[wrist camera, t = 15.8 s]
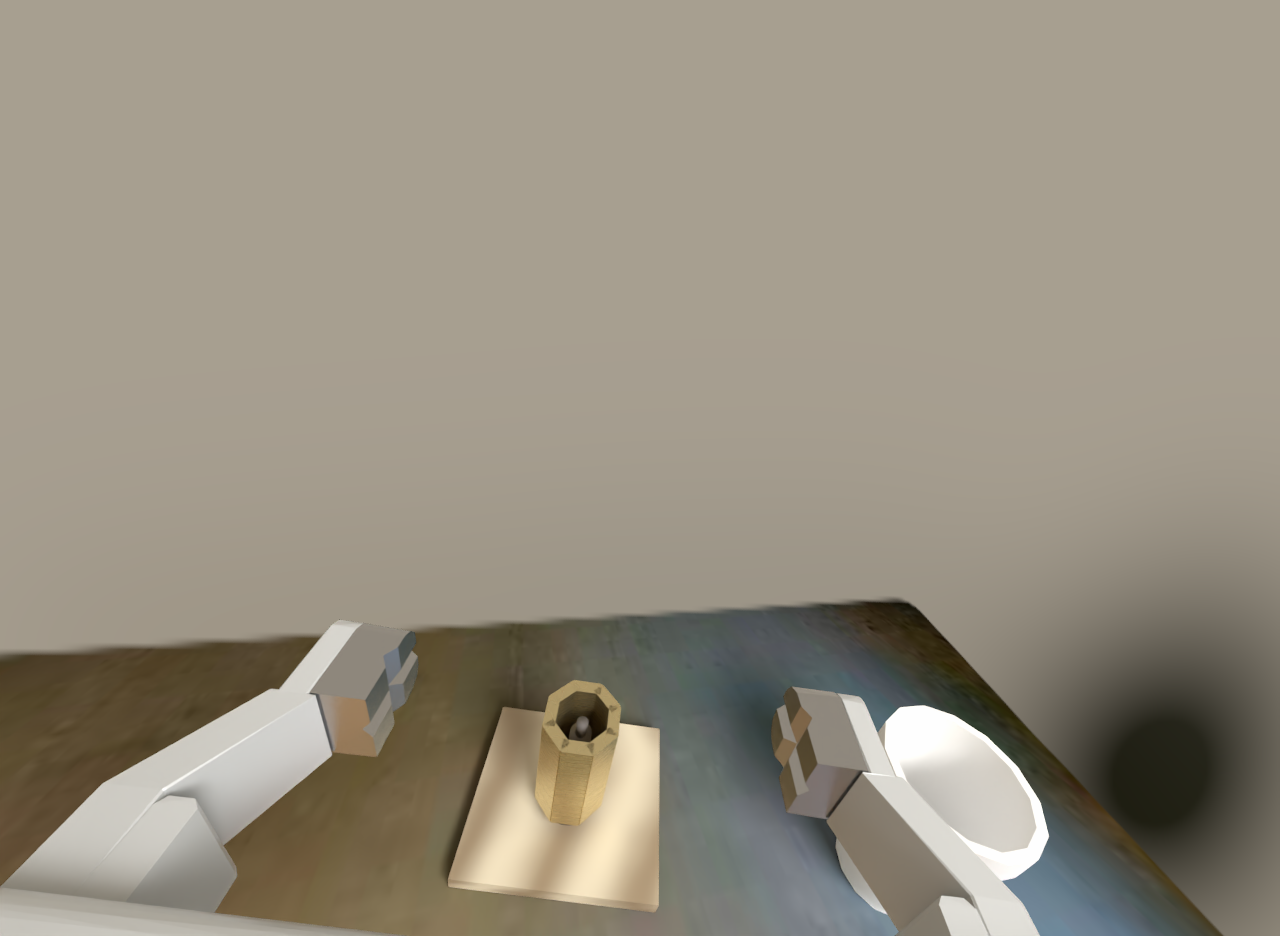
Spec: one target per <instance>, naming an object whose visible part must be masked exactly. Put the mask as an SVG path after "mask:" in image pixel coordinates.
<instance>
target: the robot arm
mask: <svg viewBox="0 0 1280 936" xmlns="http://www.w3.org/2000/svg"><path fill="white" fill-rule="evenodd" d="M415 644H416V638H415V632H412V631H406V630H400V629H395V628H389V627H383V626H377V625H371V624H366V623H360V622H353V621H347V620H340V619H339V620H338V621H337V622H335V623H334V624H332V625H331V626H330V627H329V628H328V629H327V631H326V632H325V633H324V634H323V635H322V637H321V638H320V639H319V640H318V642H317V643H316V644H315V645H314V647H313V648H312V649H311V650H310V651H309V653H308V654H307V655H306V656H305V658H304V659H303V660H302V661H301V663H300V664H299V665H298V666H297V667H296V669H295V670H294V671H293V672H292V674H291V675H290V676H289V677H288V678H287V680H286V681H285V682H284V683H283V685H282V686H281V687H280V688H279V689H269V690H267V691H266V692H264V693H262V694H260V695H258V696H257V697H255V698H253V699H251V700H250V701H248V702H246V703H244V704H243V705H241V706H239V707H237V708H235V709H234V710H232V711H230V712H228V713H227V714H225V715H223V716H221V717H219V718H218V719H216V720H214V721H212V722H211V723H209V724H207V725H205V726H204V727H202V728H200V729H198V730H196V731H195V732H193V733H191V734H189V735H188V736H186V737H184V738H182V739H180V740H179V741H177V742H175V743H173V744H172V745H170V746H168V747H166V748H164V749H163V750H161V751H159V752H157V753H156V754H154V755H152V756H150V757H149V758H147V759H145V760H143V761H141V762H140V763H138V764H136V765H134V766H133V767H131V768H129V769H127V770H125V771H124V772H122V773H120V774H118V775H117V776H115V777H113V778H111V779H109V780H108V781H106V782H104V783H103V784H102V785H101V786H100V787H99V788H98V789H97V790H96V791H95V792H94V793H93V794H92V795H91V796H90V797H89V798H88V799H87V800H86V801H85V802H84V803H83V804H82V805H81V806H80V807H79V808H78V809H77V810H76V811H75V812H74V813H73V814H72V815H71V816H70V817H69V818H68V819H67V820H66V821H65V822H64V823H63V824H62V825H61V826H60V827H59V828H58V829H57V830H56V831H55V832H54V833H53V834H52V835H51V836H50V837H49V838H48V839H47V840H46V841H45V842H44V843H43V844H42V845H41V846H40V847H39V848H38V849H37V850H36V851H35V852H34V853H33V854H32V855H31V856H30V857H29V858H28V859H27V860H26V861H25V862H24V863H23V864H22V865H21V866H20V867H19V868H18V869H17V870H16V871H15V872H14V873H13V874H12V875H11V876H10V877H9V878H8V879H7V881H6V882H5V883H4V884H3V885H2V886H1V887H0V936H405V935H396V934H388V933H379V932H371V931H363V930H354V929H346V928H337V927H329V926H321V925H312V924H304V923H295V922H287V921H279V920H270V919H262V918H253V917H245V916H237V915H228V914H220V913H215V911H216V909H217V908H218V906H219V905H220V903H221V901H222V900H223V898H224V897H225V895H226V893H227V892H228V890H229V889H230V887H231V885H232V884H233V882H234V881H235V879H236V878H237V869H236V865H235V864H234V862H233V860H232V859H231V857H230V855H229V854H228V852H227V850H226V849H225V847H224V844H226V843H227V842H228V841H229V840H230V839H232V838H233V837H234V836H235V835H237V834H238V833H239V832H240V831H241V830H243V829H244V828H245V827H246V826H247V825H249V824H250V823H251V822H252V821H253V820H255V819H256V818H257V817H258V816H259V815H261V814H262V813H263V812H264V811H266V810H267V809H268V808H269V807H270V806H272V805H273V804H274V803H275V802H276V801H278V800H279V799H280V798H281V797H282V796H284V795H285V794H286V793H287V792H288V791H290V790H291V789H292V788H293V787H294V786H296V785H297V784H298V783H299V782H301V781H302V780H303V779H304V778H305V777H307V776H308V775H309V774H310V773H311V772H313V771H314V770H315V769H316V768H317V767H319V766H320V765H321V764H322V763H323V762H325V761H326V760H327V759H328V758H329V757H331V756H332V752H334V753H344V754H353V755H363V756H372V757H377V756H378V754H379V752H380V750H381V748H382V746H383V744H384V743H385V741H386V739H387V737H388V735H389V733H390V731H391V729H392V728H393V726H394V717H393V711H395V710H396V709H398V708H399V707H401V706H402V705H403V704H405V703H406V701H407V699H408V697H409V695H410V693H411V691H412V689H413V686H414V683H415V680H416V677H417V671H418V657H417V656H416V655H415V653H414V652H413V651H412V649H413V647H414V646H415ZM783 697H784V701H785V705H784V706H782V707H780V708H778V709H777V710H776V712H775V715H774V717H773V720H772V728H771V737H772V746H773V751H774V755H775V757H776V758H777V759H778V760H779V762H780V763H781V764H782V766H783V767H784V768H783V770H782V772H781V774H780V776H779V780H780V785H781V789H782V794H783V799H784V803H785V808H786V812H787V813H792V814H798V815H804V816H810V817H816V818H822V819H828V820H827V821H826V822H827V824H828V825H829V827H830V828H831V830H832V831H833V833H834V834H835V836H836V837H837V839H838V840H839V842H840V843H841V845H842V846H843V848H844V849H845V851H846V852H847V854H848V855H849V857H850V858H851V860H852V861H853V863H854V864H855V866H856V867H857V869H858V870H859V872H860V873H861V875H862V876H863V878H864V880H865V881H866V883H867V884H868V886H869V887H870V889H871V890H872V892H873V893H874V895H875V896H876V898H877V899H878V901H879V902H880V904H881V905H882V907H883V908H884V910H885V911H886V913H887V914H888V916H889V917H890V919H891V920H892V922H893V923H894V925H895V926H896V928H897V929H898V931H899V932H898V933H897V934H896V935H895V936H1040V935H1039V933H1038V931H1037V929H1036V928H1035V926H1034V924H1033V922H1032V920H1031V918H1030V916H1029V914H1028V912H1027V910H1026V908H1025V907H1024V905H1023V903H1022V902H1021V901H1020V900H1019V899H1018V898H1017V897H1016V896H1015V895H1014V894H1013V893H1012V892H1011V891H1010V890H1009V889H1008V888H1007V887H1006V885H1005V884H1004V883H1003V882H1002V881H1001V880H1000V879H999V878H998V877H997V876H996V875H995V874H994V873H993V872H992V871H991V870H990V869H989V868H988V867H987V866H986V864H985V863H984V862H983V861H982V860H981V859H980V858H979V857H978V856H977V855H976V854H975V853H974V852H973V851H972V850H971V849H970V848H969V847H968V846H967V845H966V843H965V842H964V841H963V840H962V839H961V838H960V837H959V836H958V835H957V834H956V833H955V832H954V831H953V830H952V829H951V828H950V827H949V826H948V825H947V824H946V822H945V821H944V820H943V819H942V818H941V817H940V816H939V815H938V814H937V813H936V812H935V811H934V810H933V809H932V808H931V807H930V806H929V805H928V804H927V803H926V801H925V800H924V799H923V798H922V797H921V796H920V795H919V794H918V793H917V792H916V791H915V790H914V789H913V788H912V787H911V786H910V785H909V784H908V783H907V782H906V780H905V779H904V778H902V777H897V776H895V774H894V771H893V769H892V766H891V764H890V762H889V759H888V757H887V755H886V752H885V750H884V748H883V745H882V743H881V741H880V738H879V736H878V734H877V731H876V729H875V726H874V724H873V722H872V719H871V717H870V715H869V712H868V710H867V708H866V705H865V703H864V701H863V700H862V699H861V698H860V697H858V696H853V695H845V694H838V693H834V692H828V691H821V690H813V689H805V688H798V687H790V688H789V689H787V691H786V692H785V694H784V696H783Z"/></svg>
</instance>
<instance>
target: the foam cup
mask: <svg viewBox="0 0 1280 936" xmlns="http://www.w3.org/2000/svg"><path fill="white" fill-rule="evenodd" d="M877 734H878V736H879V738H880V741H881V743H882V745H883V748H884V750H885V752H886V755H887V757H888V759H889V762H890V764H891V766H892V769H893V771H894V774H895V776H897V777H902V778H904V779H905V780H906V782H907V783H908V784H909V785H910V786H911V787H912V788H913V789H914V790H915V791H916V792H917V793H918V794H919V795H920V796H921V797H922V798H923V799H924V800H925V801H926V803H927V804H928V805H929V806H930V807H931V808H932V809H933V810H934V811H935V812H936V813H937V814H938V815H939V816H940V817H941V818H942V819H943V820H944V821H945V822H946V824H947V825H948V826H949V827H950V828H951V829H952V830H953V831H954V832H955V833H956V834H957V835H958V836H959V837H960V838H961V839H962V840H963V841H964V842H965V843H966V845H967V846H968V847H969V848H970V849H971V850H972V851H973V852H974V853H975V854H976V855H977V856H978V857H979V858H980V859H981V860H982V861H983V862H984V863H985V864H986V866H987V867H988V868H989V869H990V870H991V871H992V872H993V873H994V874H995V875H996V876H997V877H998V878H999V879H1000V880H1001V881H1002V880H1007V879H1012V878H1016V877H1017V876H1018V875H1020V874H1021V873H1022V872H1024V871H1025V870H1026V869H1028V868H1029V867H1030V866H1031V865H1033V864H1034V863H1035V862H1037V861H1038V860H1039V858H1040V856H1041V853H1042V851H1043V849H1044V846H1045V844H1046V842H1047V840H1048V837H1049V835H1048V831H1047V827H1046V823H1045V819H1044V815H1043V811H1042V807H1041V803H1040V801H1039V799H1038V798H1037V796H1036V795H1035V793H1034V792H1033V790H1032V789H1031V787H1030V785H1029V784H1028V782H1027V781H1026V779H1025V778H1024V776H1023V775H1022V773H1021V771H1020V770H1019V768H1018V767H1017V766H1016V765H1015V764H1014V763H1013V762H1012V761H1011V760H1010V759H1009V758H1008V757H1007V756H1006V755H1005V754H1004V753H1003V752H1002V751H1001V750H1000V749H999V748H998V747H997V746H996V745H995V744H994V743H993V742H992V741H991V740H990V739H989V738H988V737H987V736H985V735H984V734H982V733H981V732H979V731H977V730H976V729H974V728H973V727H971V726H970V725H968V724H967V723H965V722H964V721H962V720H960V719H959V718H957V717H956V716H954V715H951V714H948V713H945V712H942V711H939V710H936V709H933V708H930V707H927V706H924V705H923V706H911V707H900V708H899V709H898V710H897V711H896V712H895V713H894V714H893V715H892V716H891V717H890V718H889V719H888V720H887V721H886V722H885V724H884V725H883V726H882V728H881V729H880V731H879V732H878V733H877ZM836 851H837V854H838V858H839V862H840V865H841V869H842V871H843V872H844V874H845V876H846V877H847V879H848V881H849V882H850V884H851V885H852V887H853V889H854V890H855V892H856V893H857V894H858V895H859V896H860V897H862V898H863V899H864V900H865V901H866V902H867V903H868V904H869V905H870V906H871V907H872V908H874V909H875V910H877V911H880V912H882V913H885V914H887V913H886V911H885V910H884V908H883V907H882V905H881V904H880V902H879V901H878V899H877V898H876V896H875V895H874V893H873V892H872V890H871V889H870V887H869V886H868V884H867V883H866V881H865V880H864V878H863V876H862V875H861V873H860V872H859V870H858V869H857V867H856V866H855V864H854V863H853V861H852V860H851V858H850V857H849V855H848V854H847V852H846V851H845V849H844V848H843V846H842V845H841V843H840V842H839V840H838V839H836ZM887 915H888V914H887Z"/></svg>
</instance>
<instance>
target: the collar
mask: <svg viewBox="0 0 1280 936" xmlns="http://www.w3.org/2000/svg"><path fill="white" fill-rule="evenodd" d="M620 712H621V706H620V704H619V703H618V702H617V701H616V700H615V699H614V697H613V696H612V695H611V694H610V693H609V691H608V690H607V689H606V688H605V687H604V685H602V684H598V683H591V682H584V681H577V680H573V681H571V682H570V683H568V684H567V685H565V686H564V687H562V688H561V689H559V690H557V691H556V692H554V693H553V694H551V695H550V696H549V698H548V702H547V706H546V711H545V715H544V719H543V723H542V731H541V741H540V750H539V759H538V769H537V778H536V788H535V799H536V800H537V802H538V804H539V805H540V807H541V808H542V810H543V812H544V813H545V815H546V817H547V818H548V820H549V822H550V821H551V823H559V824H566V825H574V826H578V825H580V824H582V823H583V822H584V821H585V820H586V819H587V818H588V817H589V816H590V815H592V814H593V813H594V812H595V811H596V810H597V809H598V808H599V807H600V806H601V804H602V800H603V796H604V792H605V788H606V784H607V780H608V776H609V772H610V768H611V764H612V760H613V756H614V752H615V748H616V744H617V740H618V736H619V724H620ZM581 716H584V717H586V718H587V719H588V721H589V723H588V725H589V726H590V727H591V730H592V734H591V740H590V743H589V742H582V741H575V740H569V734H570V729H571V727H572V726H573V725H574V724H575V723H577V719H578V718H579V717H581Z"/></svg>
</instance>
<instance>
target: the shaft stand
mask: <svg viewBox="0 0 1280 936" xmlns="http://www.w3.org/2000/svg"><path fill="white" fill-rule="evenodd" d="M544 715H545V713H544V712H537V711H530V710H523V709H516V708H509V707H503V709H502V713H501V716H500V719H499V722H498V725H497V728H496V731H495V734H494V737H493V740H492V744H491V747H490V750H489V753H488V756H487V759H486V762H485V765H484V768H483V771H482V775H481V778H480V781H479V784H478V787H477V790H476V793H475V796H474V799H473V803H472V806H471V809H470V812H469V815H468V818H467V821H466V824H465V827H464V830H463V834H462V837H461V840H460V843H459V846H458V849H457V852H456V855H455V858H454V861H453V865H452V868H451V871H450V874H449V877H448V887H454V888H462V889H470V890H478V891H486V892H494V893H502V894H510V895H518V896H526V897H534V898H542V899H550V900H558V901H566V902H574V903H582V904H590V905H599V906H607V907H615V908H623V909H631V910H639V911H647V912H656V910H657V908H658V906H659V729H657V728H650V727H643V726H636V725H629V724H622V723H620V724H619V736H618V740H617V744H616V748H615V752H614V756H613V760H612V764H611V768H610V772H609V776H608V780H607V784H606V788H605V792H604V796H603V800H602V804H601V806H600V807H599V808H598V809H597V810H596V811H595V812H594V813H593V814H592V815H590V816H589V817H588V818H587V819H586V820H585V821H584V822H583V823H582V824H580V825H578V826H574V825H566V824H559V823H551V821H550V822H549V820H548V818H547V817H546V815H545V813H544V812H543V810H542V808H541V807H540V805H539V804H538V802H537V800H536V799H535V788H536V778H537V769H538V759H539V750H540V741H541V731H542V723H543V719H544ZM588 723H589V721H588V719H587V718H586V717H584V716H581V717H579V718H578V719H577V723H575V724H574V725H573V726H572V727H571V729H570V734H569V740H575V741H582V742H589V743H590V740H591V734H592V730H591V727H590V726H589V725H588Z"/></svg>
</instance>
